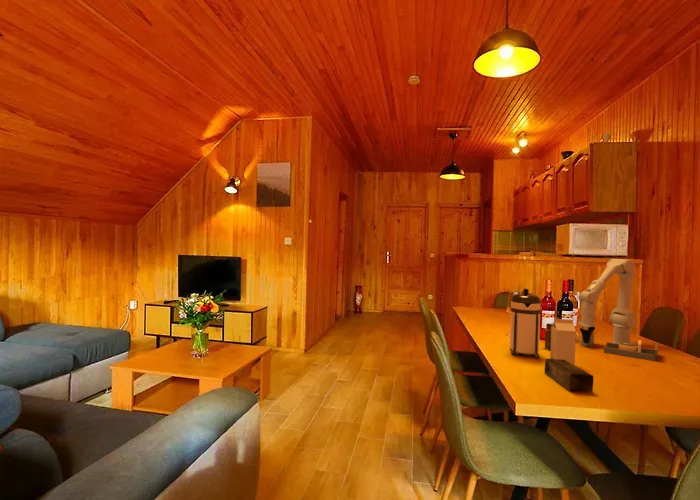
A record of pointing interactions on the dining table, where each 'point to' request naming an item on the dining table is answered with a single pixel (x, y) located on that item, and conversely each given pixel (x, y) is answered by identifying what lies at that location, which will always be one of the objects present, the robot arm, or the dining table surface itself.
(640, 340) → the pusher plate
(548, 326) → the condiment
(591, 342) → the slate jar
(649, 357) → the pusher lane
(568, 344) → the milk carton
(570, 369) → the dark brown block
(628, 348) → the amber jar
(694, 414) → the dining table surface
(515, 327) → the coffee press
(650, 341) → the dining table surface
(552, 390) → the dining table surface
